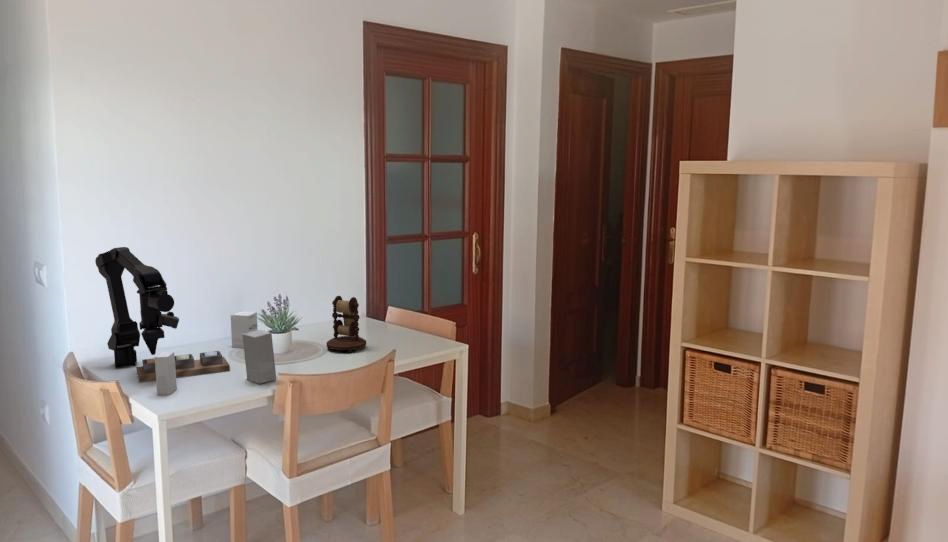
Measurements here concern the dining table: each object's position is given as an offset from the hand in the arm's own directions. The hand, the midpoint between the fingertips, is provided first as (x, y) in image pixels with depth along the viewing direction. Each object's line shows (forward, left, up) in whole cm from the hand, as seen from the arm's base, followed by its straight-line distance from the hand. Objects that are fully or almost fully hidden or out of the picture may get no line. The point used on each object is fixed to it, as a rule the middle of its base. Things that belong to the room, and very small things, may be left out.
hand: (153, 354), depth 244 cm
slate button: (+18, 0, -5) cm, 19 cm away
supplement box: (+34, +26, -7) cm, 43 cm away
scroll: (+67, +4, -7) cm, 67 cm away
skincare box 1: (+2, -20, -7) cm, 21 cm away
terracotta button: (0, 0, -5) cm, 5 cm away
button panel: (+9, 0, -7) cm, 11 cm away
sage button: (+9, 0, -5) cm, 10 cm away
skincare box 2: (+30, -21, -7) cm, 37 cm away
